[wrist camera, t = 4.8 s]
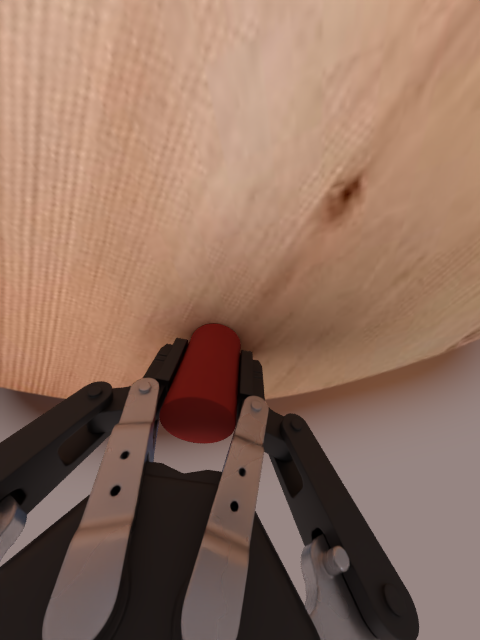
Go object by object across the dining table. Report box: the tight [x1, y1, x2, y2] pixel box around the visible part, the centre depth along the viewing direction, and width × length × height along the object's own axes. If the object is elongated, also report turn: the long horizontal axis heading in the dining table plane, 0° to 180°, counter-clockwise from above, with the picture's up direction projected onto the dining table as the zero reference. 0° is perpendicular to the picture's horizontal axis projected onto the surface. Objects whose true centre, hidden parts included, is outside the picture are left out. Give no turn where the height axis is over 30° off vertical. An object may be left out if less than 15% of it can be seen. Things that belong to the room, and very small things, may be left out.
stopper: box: [159, 324, 241, 443], centre depth 12 cm, size 4×4×6 cm
